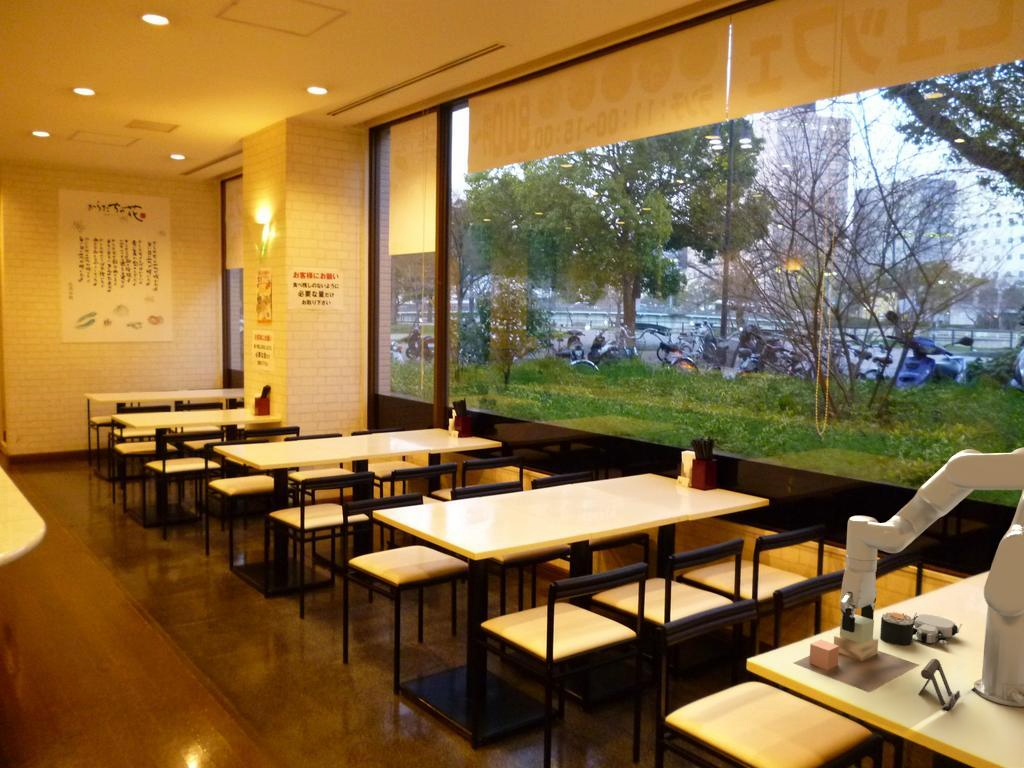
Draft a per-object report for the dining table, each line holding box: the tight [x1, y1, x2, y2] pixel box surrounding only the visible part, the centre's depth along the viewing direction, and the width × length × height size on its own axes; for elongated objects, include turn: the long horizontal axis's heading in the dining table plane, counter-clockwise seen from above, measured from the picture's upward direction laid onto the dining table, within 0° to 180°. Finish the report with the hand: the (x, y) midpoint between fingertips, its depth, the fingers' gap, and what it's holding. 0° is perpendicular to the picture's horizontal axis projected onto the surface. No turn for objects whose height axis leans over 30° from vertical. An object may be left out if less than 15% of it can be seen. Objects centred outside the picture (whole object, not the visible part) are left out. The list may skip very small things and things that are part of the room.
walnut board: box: [793, 650, 920, 693], centre depth 207 cm, size 20×26×1 cm
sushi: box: [879, 611, 914, 647], centre depth 223 cm, size 8×8×8 cm
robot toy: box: [912, 612, 963, 645], centre depth 228 cm, size 12×4×15 cm
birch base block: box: [833, 633, 879, 661], centre depth 214 cm, size 8×8×4 cm
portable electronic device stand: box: [918, 658, 961, 712], centre depth 190 cm, size 9×8×8 cm
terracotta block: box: [809, 639, 839, 670], centre depth 206 cm, size 5×5×5 cm
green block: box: [839, 613, 875, 644], centre depth 214 cm, size 6×6×5 cm
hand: (857, 626), depth 214 cm, fingers open, 9 cm apart
